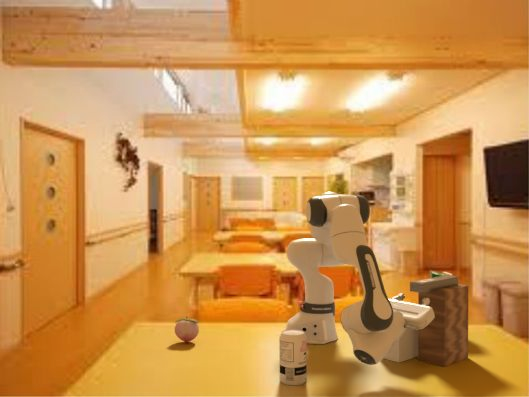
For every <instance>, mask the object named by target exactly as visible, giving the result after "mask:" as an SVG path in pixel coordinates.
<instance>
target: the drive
mask: <svg viewBox="0 0 529 397" xmlns="http://www.w3.org/2000/svg"><path fill="white" fill-rule="evenodd" d="M458 284H459V276H455V275H452V276H450V275H444V276H439V277H434V278H430V277H429V278H425V279H424V278H423V279H417V280H413V281H410V282H409V292H411V293H413V292H414V293H418V292H419V293H424V292H429V291H434V290H438V289H443V288H448V287H452V286H457V285H458Z"/></svg>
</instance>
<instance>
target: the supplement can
mask: <svg viewBox="0 0 529 397" xmlns="http://www.w3.org/2000/svg"><path fill="white" fill-rule="evenodd" d="M280 334H281V335H279V381H280V382H281V383H282V384H283V385H285V386H286V385H288V386H300V385H303V384H305V382H306V381H307V379H308V378H307V363H308V362H307V360H308V359H307V356H308V354H307V353H308V352H307V351H308V350H307V345H308V343H307V337H306V335H305V332H304V331H301V330H286V329H285V330H282V331H281V332H280Z"/></svg>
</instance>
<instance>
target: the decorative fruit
mask: <svg viewBox="0 0 529 397" xmlns="http://www.w3.org/2000/svg"><path fill="white" fill-rule="evenodd" d="M174 323H175V326H174V334H175V335H176V337H177V338H178V339H179V340H181V341H182V342H185V343H190V342H191V341H193V340H194V339H196V338H197V337H198V334H199V332H200V330H199V328H200V327H199V322H198V321H197V319H196V318H195V319H194V318H188V316H186V317H185V318H179V319H177V320H175V321H174Z"/></svg>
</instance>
